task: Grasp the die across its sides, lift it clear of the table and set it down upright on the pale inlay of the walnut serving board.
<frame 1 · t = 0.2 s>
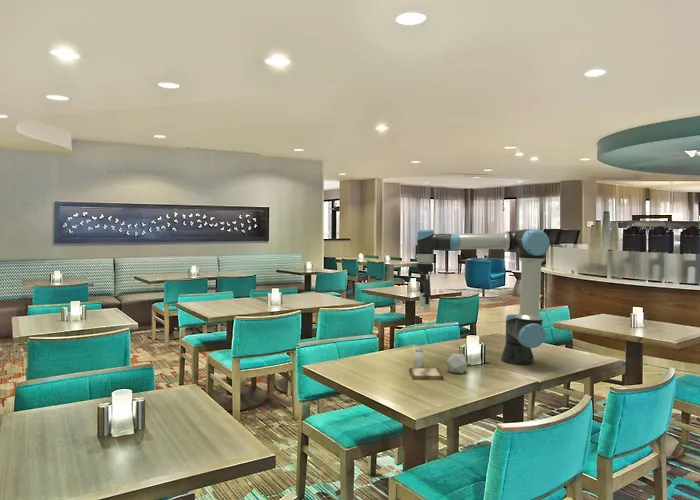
hand: (424, 309, 233), 27 cm above the table, fingers open, 13 cm apart
die: (457, 372, 228), on the table
shaker: (418, 366, 237), on the table
board: (425, 375, 222), on the table
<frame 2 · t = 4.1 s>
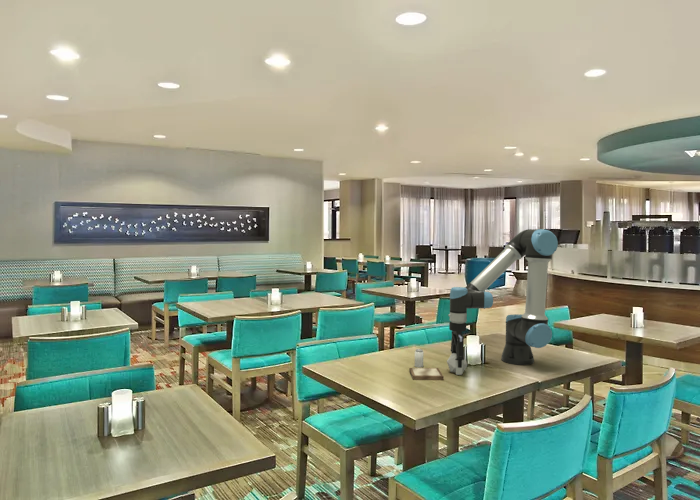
hand: (456, 371, 228), 0 cm above the table, fingers open, 9 cm apart
die: (457, 372, 228), on the table, touching gripper
everything else where it was.
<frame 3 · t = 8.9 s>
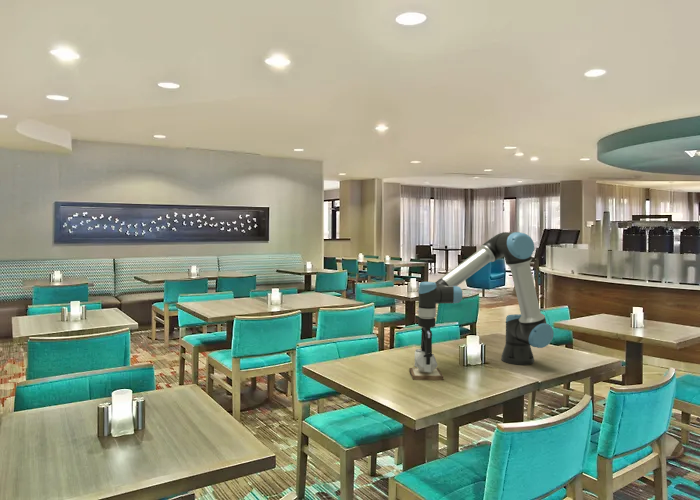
hand: (425, 368, 221), 3 cm above the table, fingers closed on die, 8 cm apart
die: (426, 372, 221), point 1 cm above the table, touching board, gripper
everything else where it was.
when the fingers open (3 cm above the table, at t = 9.3 s): die stays where it is, resting on board.
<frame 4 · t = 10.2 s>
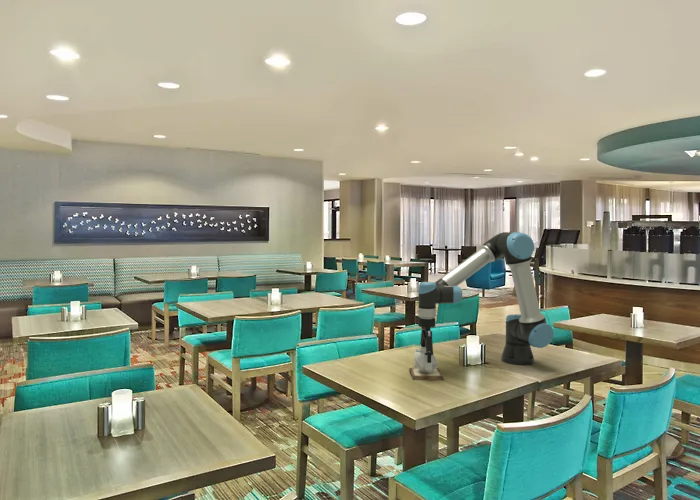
hand: (426, 365, 221), 4 cm above the table, fingers open, 13 cm apart
die: (426, 372, 221), point 1 cm above the table, touching board
everything else where it was.
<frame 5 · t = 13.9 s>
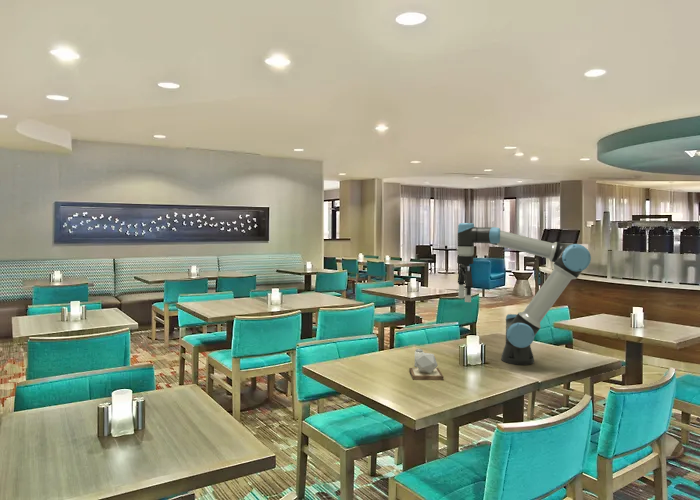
hand: (464, 300, 240), 31 cm above the table, fingers open, 13 cm apart
nothing on the table moved.
at the end: die inside the target area on the board (0.3 cm from its centre), point 1.4 cm above the board's base; die touching board; die tilted 0° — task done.
